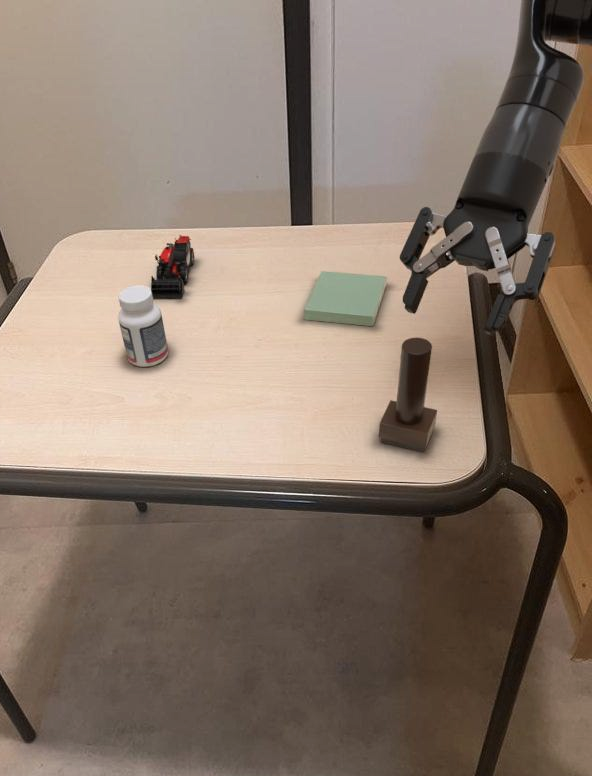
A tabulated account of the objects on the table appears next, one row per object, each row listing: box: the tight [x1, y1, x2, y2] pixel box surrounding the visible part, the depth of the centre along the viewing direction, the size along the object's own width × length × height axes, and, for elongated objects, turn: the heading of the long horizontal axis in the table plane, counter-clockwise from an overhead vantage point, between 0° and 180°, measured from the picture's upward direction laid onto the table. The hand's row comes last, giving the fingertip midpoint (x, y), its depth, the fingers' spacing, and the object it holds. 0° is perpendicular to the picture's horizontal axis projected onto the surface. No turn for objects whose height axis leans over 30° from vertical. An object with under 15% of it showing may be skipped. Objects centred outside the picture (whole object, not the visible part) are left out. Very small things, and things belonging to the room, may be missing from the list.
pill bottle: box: [117, 285, 169, 368], centre depth 88 cm, size 5×5×9 cm
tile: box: [303, 270, 388, 327], centre depth 96 cm, size 9×10×2 cm
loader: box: [150, 234, 195, 298], centre depth 103 cm, size 12×5×5 cm, turn 172°
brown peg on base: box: [378, 337, 438, 453], centre depth 73 cm, size 5×4×12 cm
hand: (448, 322), depth 74 cm, fingers open, 8 cm apart
